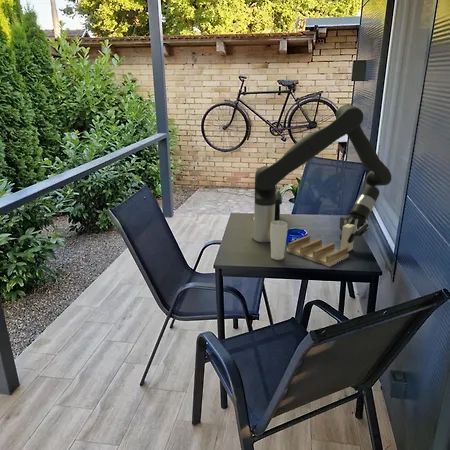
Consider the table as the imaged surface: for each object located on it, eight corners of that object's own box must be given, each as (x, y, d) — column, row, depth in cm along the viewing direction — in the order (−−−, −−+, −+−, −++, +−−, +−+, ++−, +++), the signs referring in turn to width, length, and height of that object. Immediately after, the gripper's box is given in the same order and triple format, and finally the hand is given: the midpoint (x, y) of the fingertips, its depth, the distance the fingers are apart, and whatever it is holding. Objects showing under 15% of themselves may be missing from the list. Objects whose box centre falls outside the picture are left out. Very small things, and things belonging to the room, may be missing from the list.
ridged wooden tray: (286, 251, 167) (287, 242, 166) (306, 243, 176) (306, 234, 175) (329, 266, 152) (330, 257, 151) (348, 256, 162) (349, 247, 160)
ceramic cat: (281, 226, 198) (283, 187, 191) (268, 226, 198) (270, 187, 192) (277, 214, 217) (279, 179, 210) (265, 214, 217) (266, 179, 210)
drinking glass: (273, 262, 157) (274, 226, 152) (266, 255, 163) (267, 221, 158) (288, 260, 158) (290, 225, 154) (281, 253, 165) (283, 219, 160)
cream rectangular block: (340, 250, 168) (342, 226, 164) (346, 247, 171) (348, 223, 168) (346, 252, 166) (349, 227, 162) (352, 249, 169) (355, 225, 166)
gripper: (345, 199, 172) (327, 232, 168) (376, 206, 162) (357, 241, 158) (350, 209, 177) (333, 241, 173) (380, 216, 167) (362, 250, 163)
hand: (345, 241), depth 166 cm, fingers closed on cream rectangular block, 3 cm apart
